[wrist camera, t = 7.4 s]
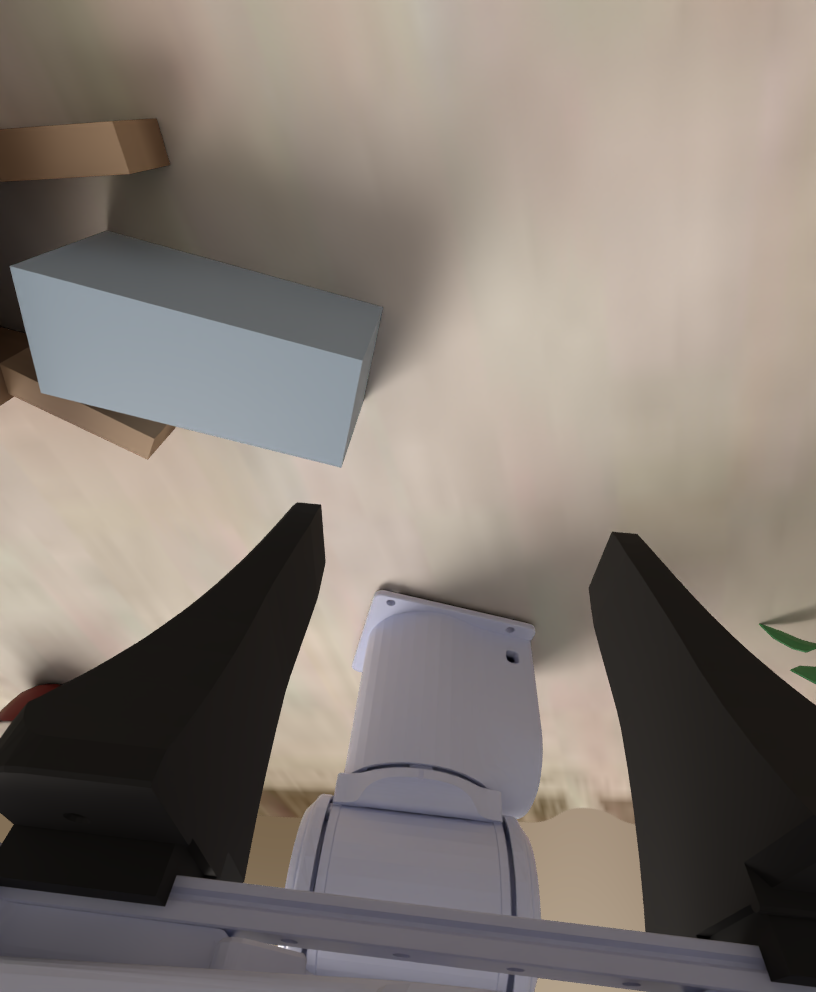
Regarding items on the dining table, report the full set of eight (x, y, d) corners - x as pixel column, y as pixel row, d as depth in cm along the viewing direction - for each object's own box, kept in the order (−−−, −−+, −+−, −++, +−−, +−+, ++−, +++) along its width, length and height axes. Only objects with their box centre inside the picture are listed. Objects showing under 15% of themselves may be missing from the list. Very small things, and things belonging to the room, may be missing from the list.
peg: (383, 305, 19) (362, 360, 15) (363, 399, 21) (341, 467, 17) (109, 229, 18) (9, 266, 14) (122, 336, 20) (41, 392, 16)
